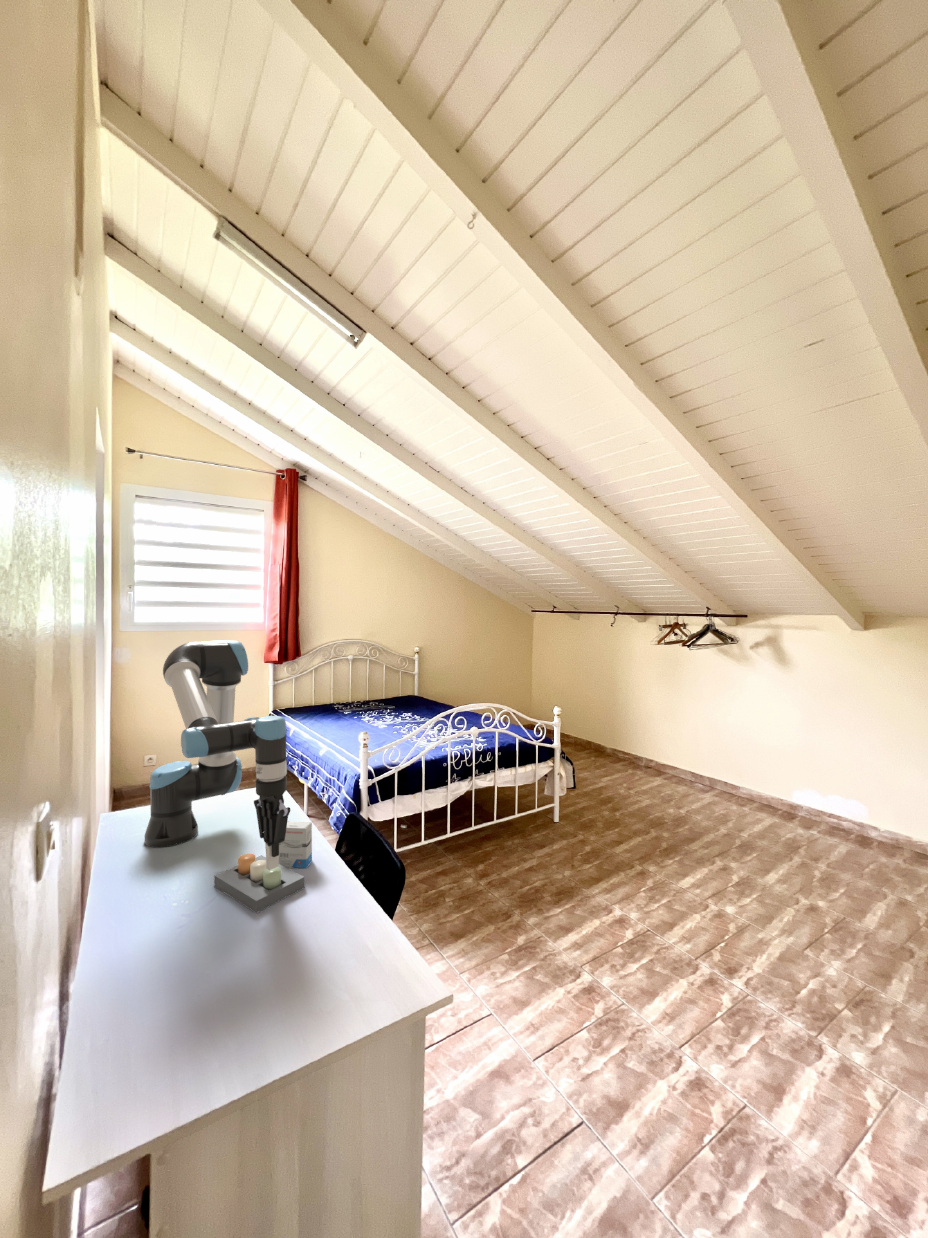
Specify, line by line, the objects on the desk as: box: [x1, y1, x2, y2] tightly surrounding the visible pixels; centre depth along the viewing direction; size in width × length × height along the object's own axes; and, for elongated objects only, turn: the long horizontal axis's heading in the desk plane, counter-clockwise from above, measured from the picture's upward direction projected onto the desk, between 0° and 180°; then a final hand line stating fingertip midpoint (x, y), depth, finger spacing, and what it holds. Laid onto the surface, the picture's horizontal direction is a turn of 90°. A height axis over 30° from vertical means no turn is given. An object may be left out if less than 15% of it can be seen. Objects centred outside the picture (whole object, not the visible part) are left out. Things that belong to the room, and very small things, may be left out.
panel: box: [213, 854, 306, 914], centre depth 140 cm, size 20×14×3 cm
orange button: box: [237, 853, 256, 876], centre depth 143 cm, size 4×4×4 cm
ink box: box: [279, 820, 313, 869], centre depth 152 cm, size 8×5×12 cm, turn 84°
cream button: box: [250, 860, 266, 883], centre depth 140 cm, size 4×4×4 cm
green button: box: [263, 867, 281, 891], centre depth 136 cm, size 4×4×4 cm
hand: (272, 867), depth 136 cm, fingers closed
